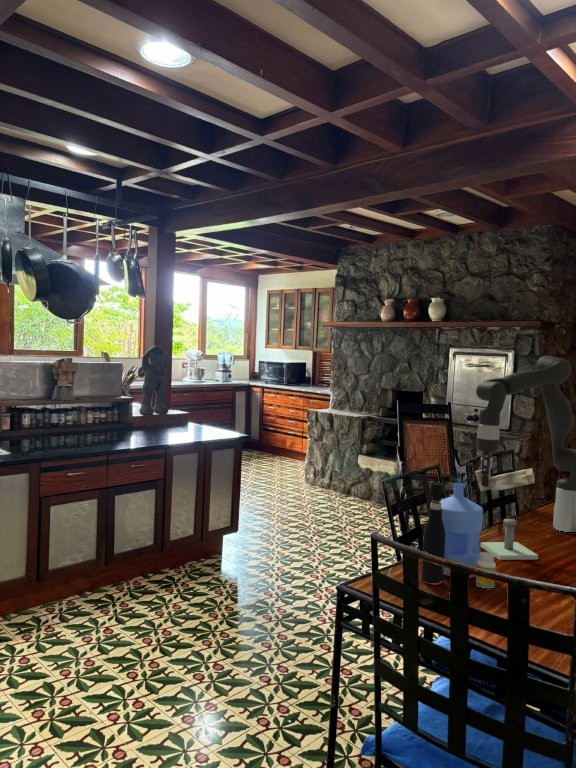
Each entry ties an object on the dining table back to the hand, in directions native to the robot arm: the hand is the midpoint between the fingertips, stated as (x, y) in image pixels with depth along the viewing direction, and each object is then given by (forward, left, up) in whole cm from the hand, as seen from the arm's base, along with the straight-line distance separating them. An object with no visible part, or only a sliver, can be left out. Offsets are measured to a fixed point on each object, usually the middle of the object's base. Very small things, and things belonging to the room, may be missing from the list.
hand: (485, 485), depth 210 cm
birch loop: (+4, +6, +1) cm, 7 cm away
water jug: (+21, -19, -23) cm, 37 cm away
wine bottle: (+30, -30, -23) cm, 49 cm away
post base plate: (+5, +8, -23) cm, 25 cm away
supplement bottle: (+34, -15, -23) cm, 44 cm away
